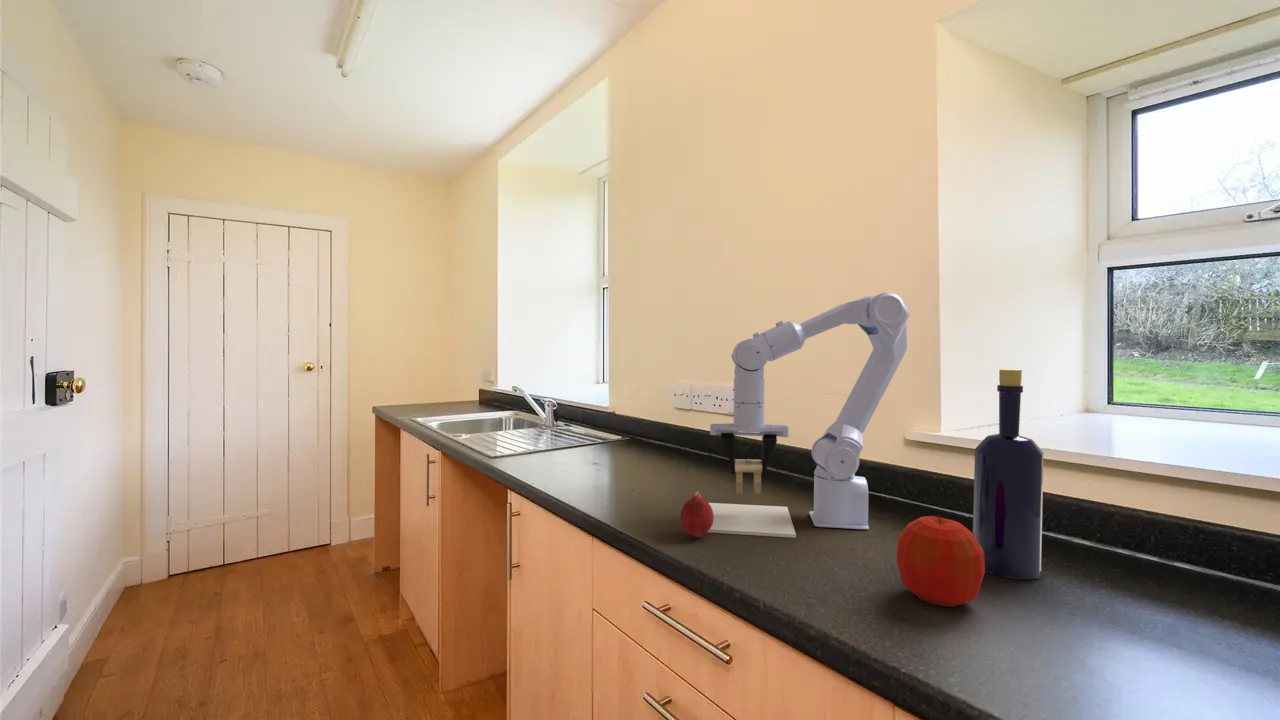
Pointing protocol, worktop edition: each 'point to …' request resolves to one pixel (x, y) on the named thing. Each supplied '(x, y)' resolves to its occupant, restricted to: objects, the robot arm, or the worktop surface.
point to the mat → (752, 520)
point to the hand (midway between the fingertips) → (748, 473)
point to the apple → (940, 561)
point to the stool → (748, 466)
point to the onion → (697, 516)
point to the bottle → (1009, 491)
